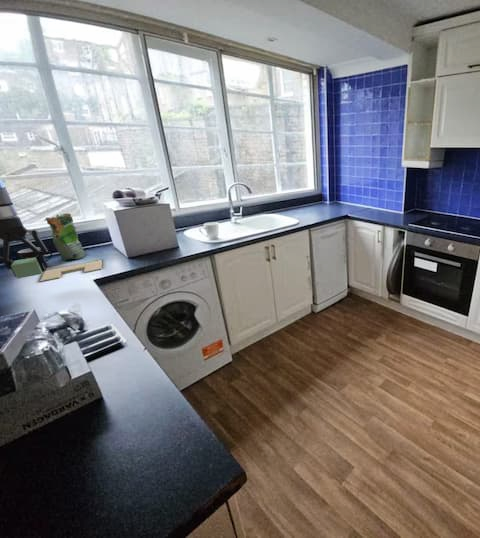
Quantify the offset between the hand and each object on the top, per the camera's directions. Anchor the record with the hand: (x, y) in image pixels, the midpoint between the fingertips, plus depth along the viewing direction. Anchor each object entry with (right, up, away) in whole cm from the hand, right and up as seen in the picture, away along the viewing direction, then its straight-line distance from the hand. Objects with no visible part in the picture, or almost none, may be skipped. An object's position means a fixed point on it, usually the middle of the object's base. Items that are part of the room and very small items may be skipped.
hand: (31, 272), depth 120 cm
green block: (0, 0, 0) cm, 0 cm away
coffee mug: (-32, +2, +33) cm, 47 cm away
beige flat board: (-9, 0, +28) cm, 29 cm away
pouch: (-27, +8, +47) cm, 55 cm away
